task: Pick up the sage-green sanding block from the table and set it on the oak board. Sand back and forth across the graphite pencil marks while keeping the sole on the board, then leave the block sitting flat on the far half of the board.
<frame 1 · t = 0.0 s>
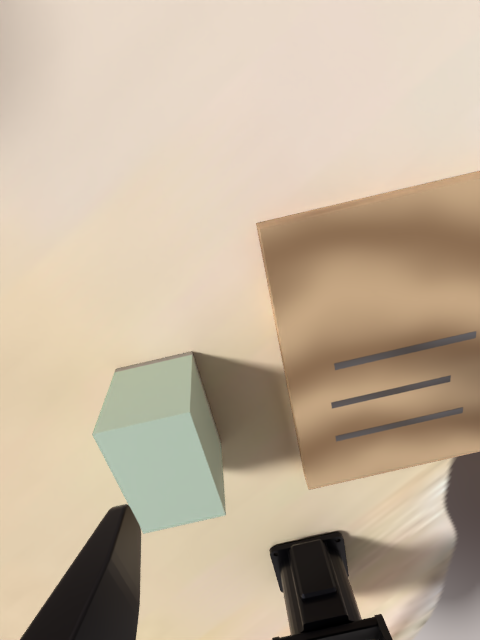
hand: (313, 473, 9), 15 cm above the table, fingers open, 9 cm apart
oak board: (387, 347, 25), on the table
sanding block: (172, 407, 26), on the table
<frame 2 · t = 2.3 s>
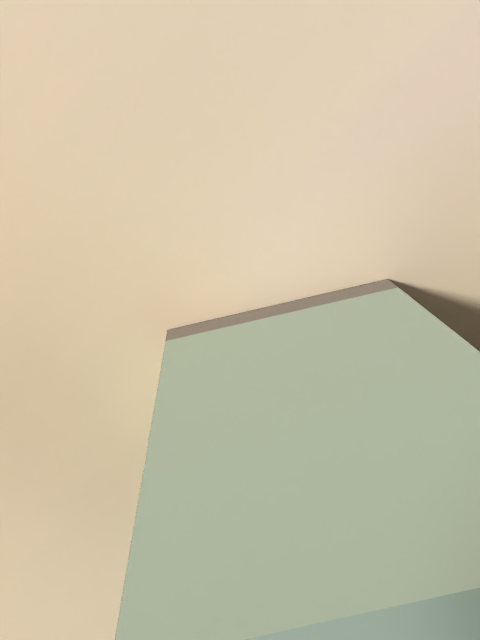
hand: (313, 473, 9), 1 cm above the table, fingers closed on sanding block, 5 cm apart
sanding block: (301, 437, 10), on the table, touching gripper
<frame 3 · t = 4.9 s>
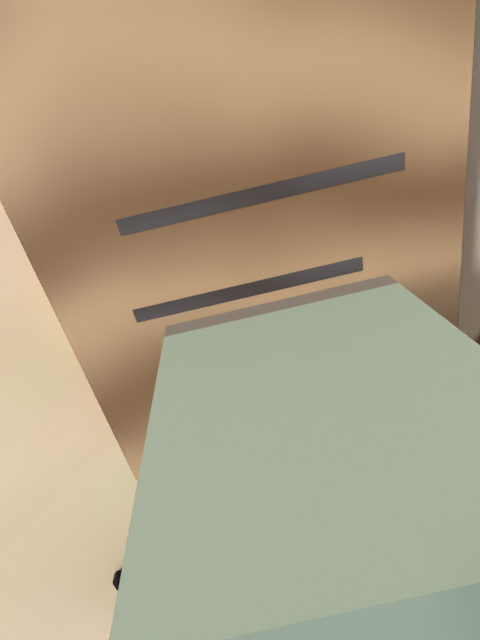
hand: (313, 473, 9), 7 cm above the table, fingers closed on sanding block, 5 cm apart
oak board: (243, 205, 13), on the table
sanding block: (301, 434, 10), point 6 cm above the table, touching gripper
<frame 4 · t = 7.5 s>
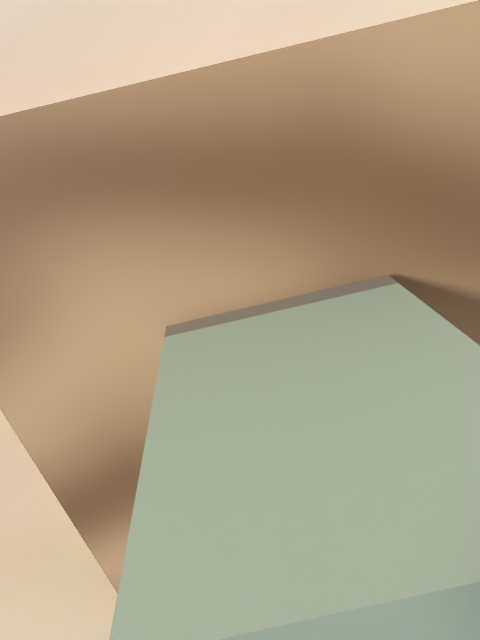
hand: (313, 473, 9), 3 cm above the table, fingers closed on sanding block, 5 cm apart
oak board: (292, 429, 12), on the table
sanding block: (301, 434, 10), point 2 cm above the table, touching gripper
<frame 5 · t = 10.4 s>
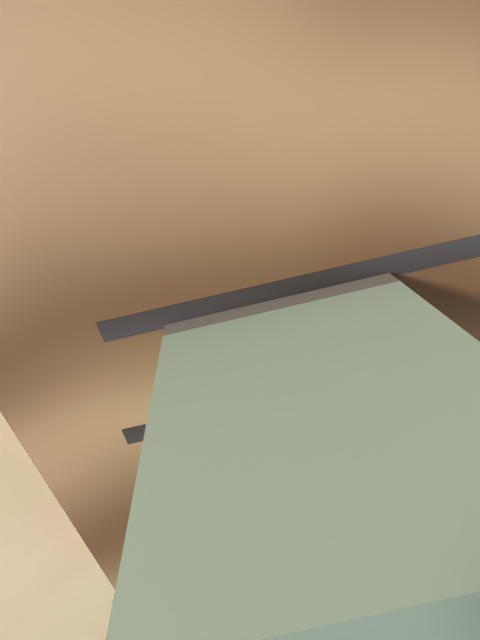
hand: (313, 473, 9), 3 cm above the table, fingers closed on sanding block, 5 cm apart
oak board: (270, 287, 10), on the table
sanding block: (301, 433, 10), point 2 cm above the table, touching gripper
when the fingers open (3 cm above the table, at t = 12.9 s): sanding block stays where it is, resting on oak board.
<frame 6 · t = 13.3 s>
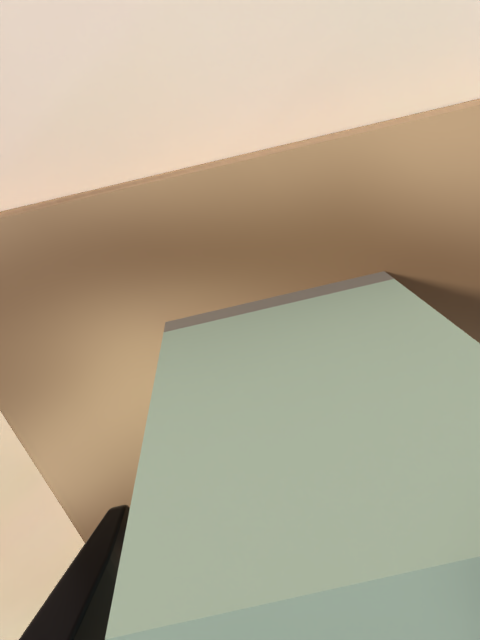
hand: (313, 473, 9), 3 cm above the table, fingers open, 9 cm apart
oak board: (301, 466, 13), on the table
sanding block: (299, 429, 10), point 2 cm above the table, touching oak board
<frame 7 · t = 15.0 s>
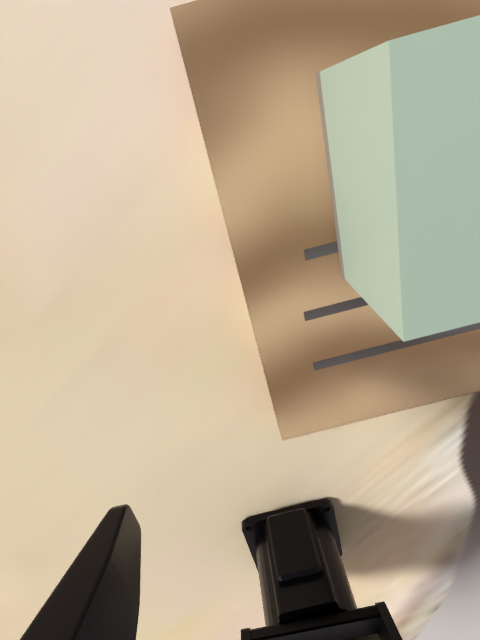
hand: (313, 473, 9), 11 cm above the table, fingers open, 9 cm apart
oak board: (379, 233, 18), on the table
sanding block: (390, 170, 16), point 2 cm above the table, touching oak board
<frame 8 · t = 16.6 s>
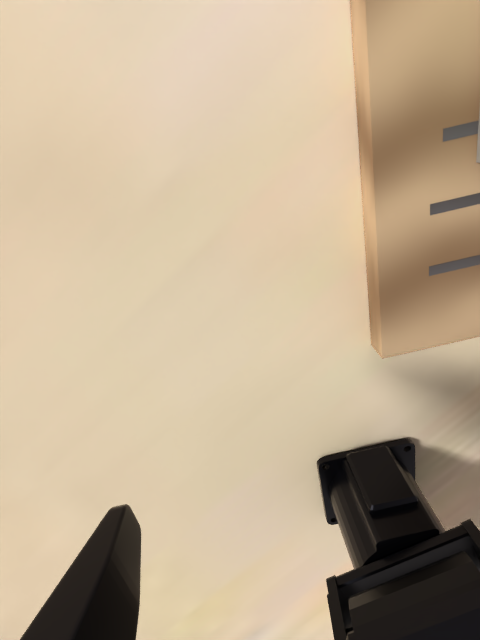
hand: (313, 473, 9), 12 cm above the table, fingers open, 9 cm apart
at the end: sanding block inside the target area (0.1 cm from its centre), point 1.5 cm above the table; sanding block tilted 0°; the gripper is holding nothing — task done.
